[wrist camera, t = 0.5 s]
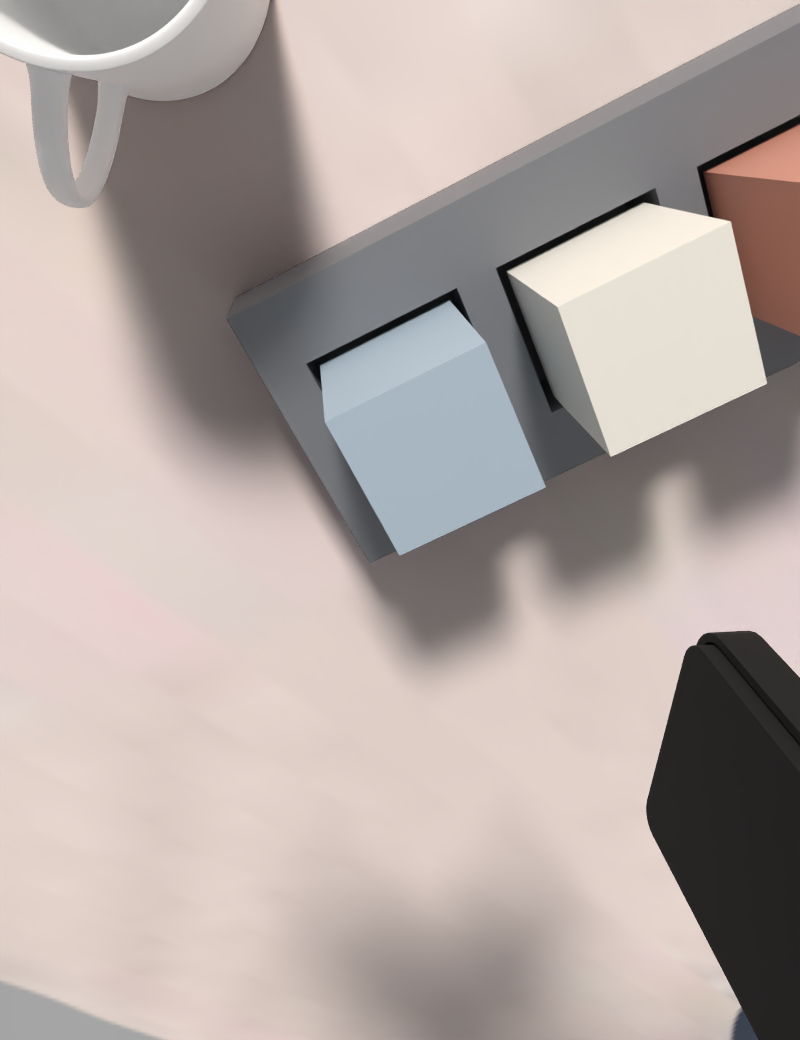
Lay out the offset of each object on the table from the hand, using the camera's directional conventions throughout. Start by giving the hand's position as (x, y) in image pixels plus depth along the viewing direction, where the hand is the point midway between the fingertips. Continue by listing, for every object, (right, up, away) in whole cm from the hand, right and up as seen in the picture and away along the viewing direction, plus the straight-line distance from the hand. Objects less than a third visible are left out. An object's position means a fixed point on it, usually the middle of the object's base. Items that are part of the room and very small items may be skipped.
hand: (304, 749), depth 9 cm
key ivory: (+9, +11, +21) cm, 25 cm away
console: (+8, +13, +24) cm, 28 cm away
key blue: (+2, +8, +22) cm, 23 cm away
